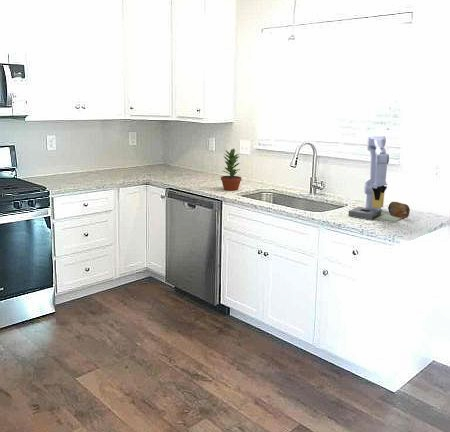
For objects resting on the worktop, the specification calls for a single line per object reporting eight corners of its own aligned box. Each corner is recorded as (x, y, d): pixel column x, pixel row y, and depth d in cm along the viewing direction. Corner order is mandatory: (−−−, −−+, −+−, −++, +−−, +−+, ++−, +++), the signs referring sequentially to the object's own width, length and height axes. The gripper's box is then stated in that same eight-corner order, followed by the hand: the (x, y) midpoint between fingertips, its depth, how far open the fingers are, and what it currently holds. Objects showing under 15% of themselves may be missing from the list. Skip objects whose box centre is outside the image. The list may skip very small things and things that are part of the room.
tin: (387, 214, 302) (388, 200, 300) (391, 213, 303) (392, 199, 301) (405, 220, 289) (407, 205, 287) (409, 219, 290) (411, 205, 288)
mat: (382, 215, 298) (382, 214, 298) (401, 218, 292) (401, 217, 291) (375, 219, 289) (375, 218, 289) (394, 222, 283) (394, 221, 283)
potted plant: (233, 186, 376) (234, 145, 369) (245, 190, 364) (246, 147, 357) (215, 188, 368) (216, 146, 361) (227, 192, 356) (228, 148, 349)
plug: (374, 205, 295) (375, 191, 294) (382, 206, 293) (384, 192, 291) (371, 206, 292) (373, 192, 290) (380, 207, 289) (381, 193, 288)
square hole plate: (358, 211, 307) (358, 206, 306) (381, 215, 299) (381, 210, 298) (348, 215, 296) (348, 210, 295) (371, 219, 288) (372, 214, 287)
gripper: (382, 177, 280) (380, 202, 283) (392, 174, 291) (390, 198, 295) (370, 176, 284) (368, 200, 287) (380, 173, 295) (378, 196, 299)
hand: (378, 199), depth 291 cm, fingers closed on plug, 4 cm apart
